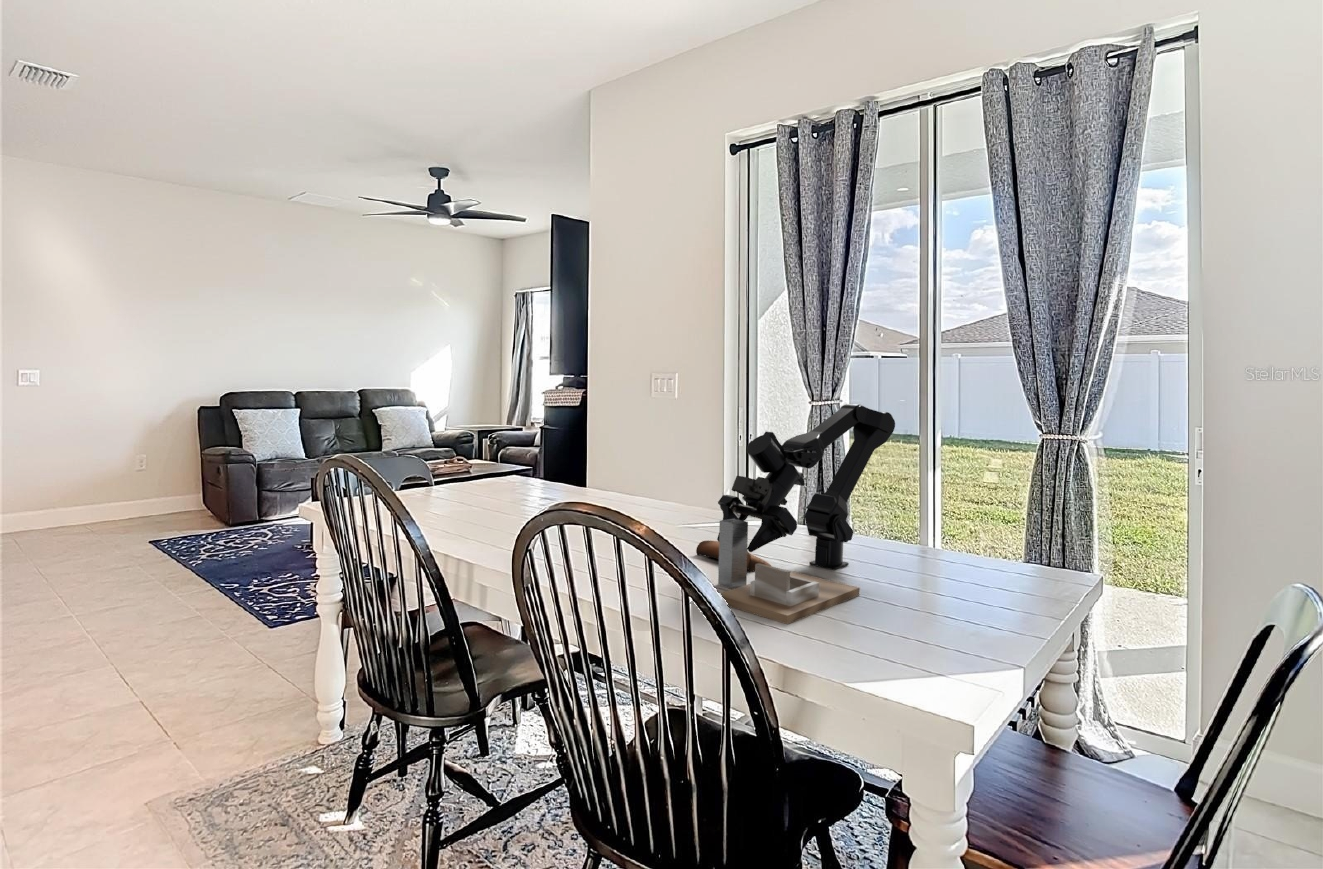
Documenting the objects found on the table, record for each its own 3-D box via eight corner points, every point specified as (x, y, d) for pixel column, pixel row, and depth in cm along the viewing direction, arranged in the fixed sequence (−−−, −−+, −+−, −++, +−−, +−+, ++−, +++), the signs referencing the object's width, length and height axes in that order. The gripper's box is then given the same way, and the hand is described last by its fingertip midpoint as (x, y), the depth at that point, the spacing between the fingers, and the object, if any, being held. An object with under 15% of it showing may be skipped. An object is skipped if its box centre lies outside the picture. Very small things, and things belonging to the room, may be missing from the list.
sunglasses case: (776, 566, 159) (766, 542, 156) (756, 586, 156) (745, 563, 153) (722, 550, 173) (711, 528, 171) (702, 568, 170) (692, 546, 167)
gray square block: (733, 581, 147) (734, 518, 146) (746, 585, 144) (747, 521, 143) (718, 584, 145) (719, 520, 144) (731, 589, 142) (732, 524, 141)
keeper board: (790, 577, 150) (791, 542, 150) (859, 595, 139) (860, 557, 138) (715, 602, 133) (716, 562, 133) (787, 624, 122) (788, 580, 121)
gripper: (726, 457, 153) (683, 512, 148) (788, 466, 138) (744, 529, 133) (752, 490, 158) (712, 546, 153) (815, 504, 143) (773, 565, 138)
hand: (733, 545), depth 144 cm, fingers open, 9 cm apart
